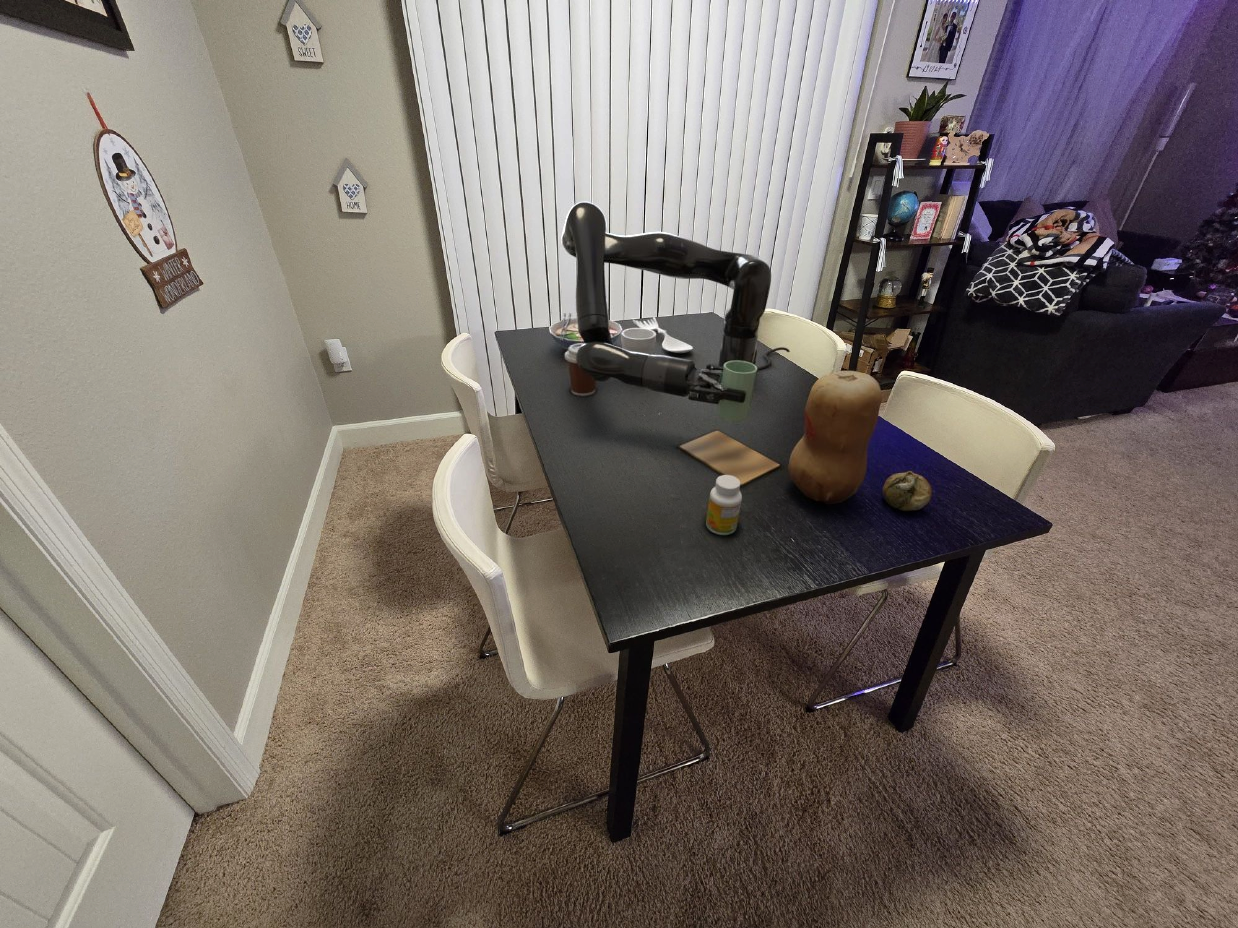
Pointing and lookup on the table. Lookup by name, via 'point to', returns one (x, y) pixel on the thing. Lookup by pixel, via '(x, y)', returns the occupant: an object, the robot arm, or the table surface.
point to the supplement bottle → (724, 505)
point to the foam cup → (638, 340)
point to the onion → (907, 491)
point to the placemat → (729, 457)
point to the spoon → (668, 342)
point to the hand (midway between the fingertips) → (748, 390)
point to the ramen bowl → (576, 331)
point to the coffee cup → (578, 374)
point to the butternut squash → (836, 436)
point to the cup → (737, 378)
